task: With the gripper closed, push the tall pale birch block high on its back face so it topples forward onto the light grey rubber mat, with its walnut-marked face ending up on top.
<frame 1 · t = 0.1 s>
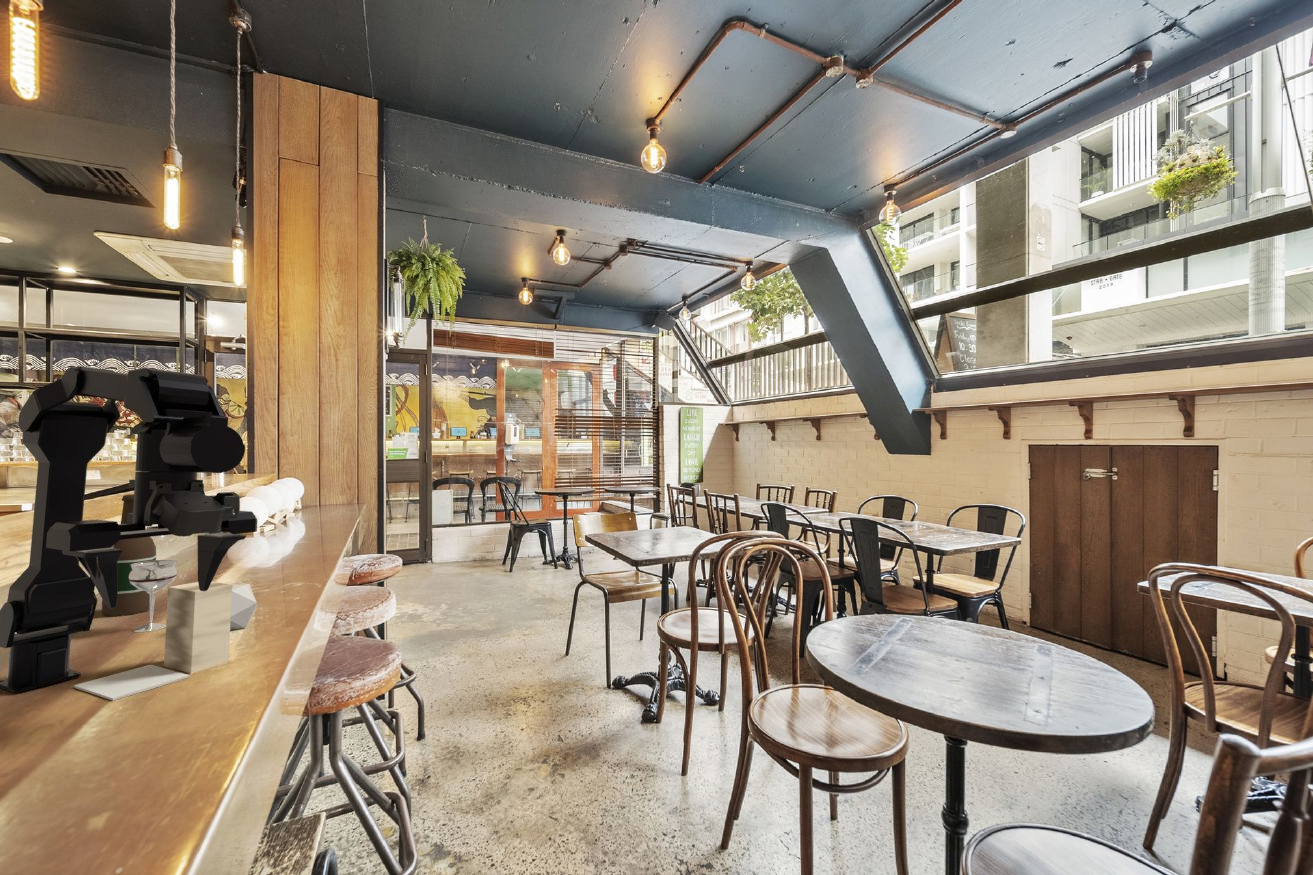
hand: (160, 598, 67), 15 cm above the counter, tool pointing down, fingers open, 9 cm apart
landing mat: (132, 682, 77), on the counter
beer bottle: (128, 612, 111), on the counter
birch block: (196, 664, 84), on the counter
wineglass: (150, 628, 101), on the counter
die: (229, 629, 102), on the counter
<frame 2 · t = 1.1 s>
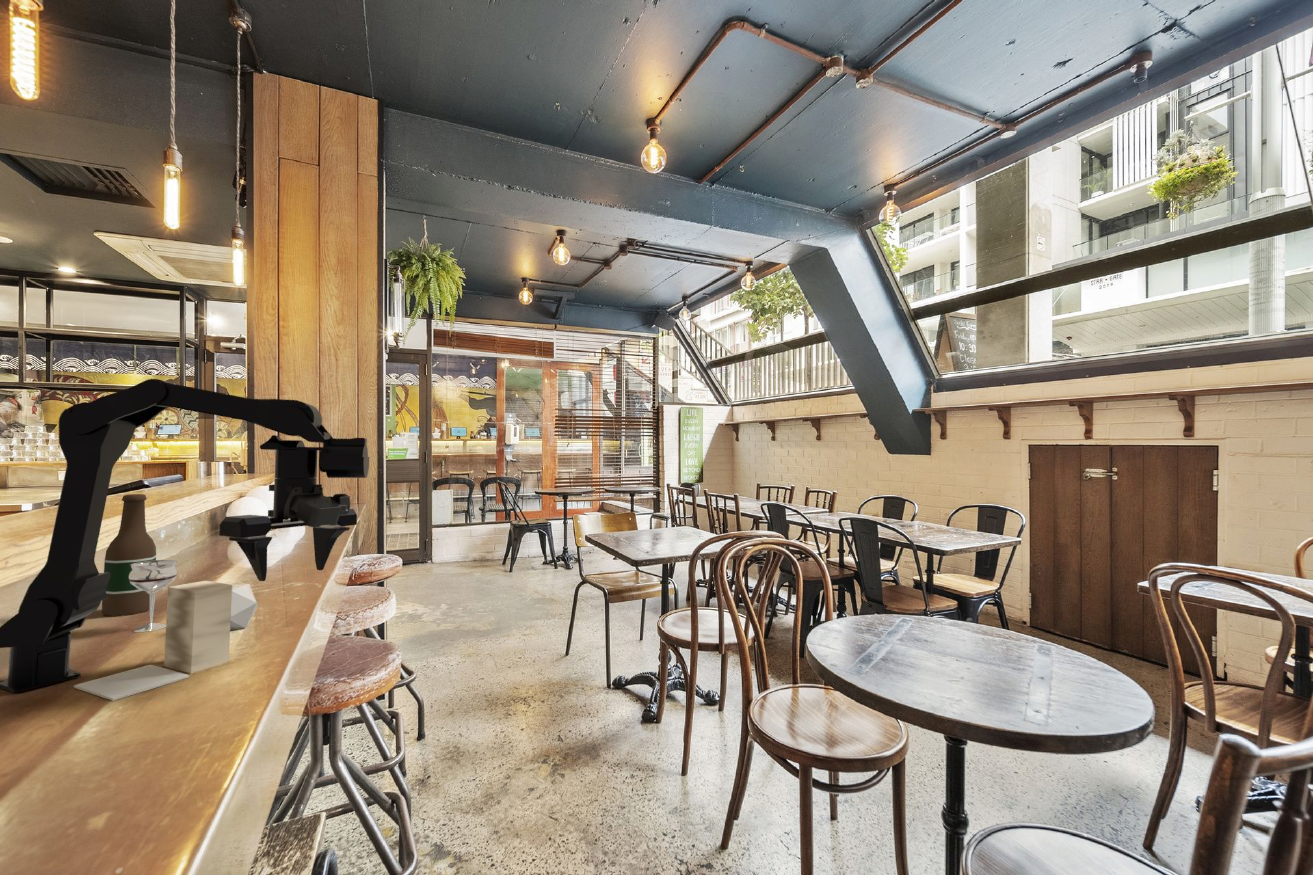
hand: (292, 575, 87), 13 cm above the counter, tool pointing down, fingers open, 9 cm apart
nothing on the counter moved.
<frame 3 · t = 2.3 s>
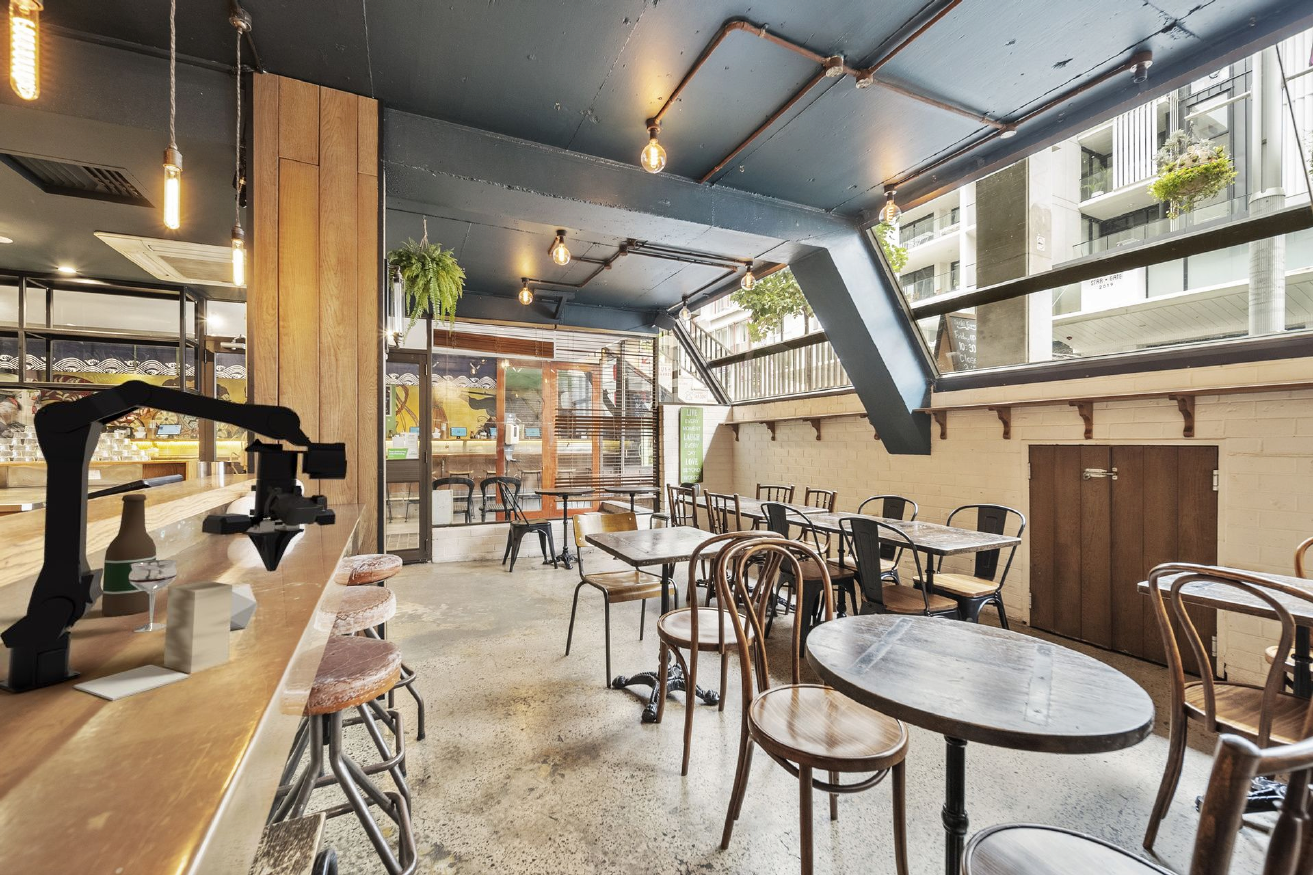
hand: (271, 570, 93), 13 cm above the counter, tool pointing down, fingers closed
nothing on the counter moved.
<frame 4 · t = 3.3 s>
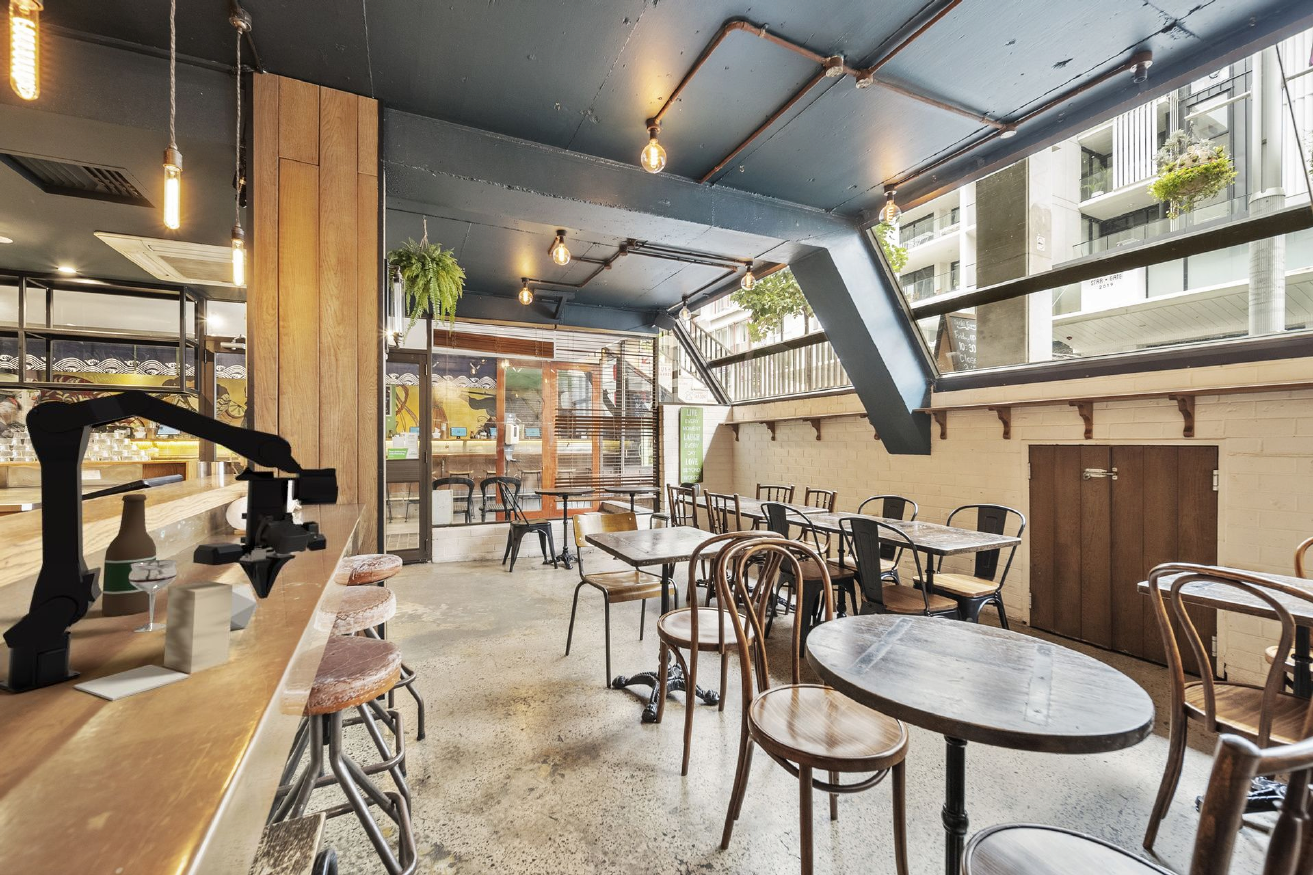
hand: (263, 598, 93), 8 cm above the counter, tool pointing down, fingers closed
nothing on the counter moved.
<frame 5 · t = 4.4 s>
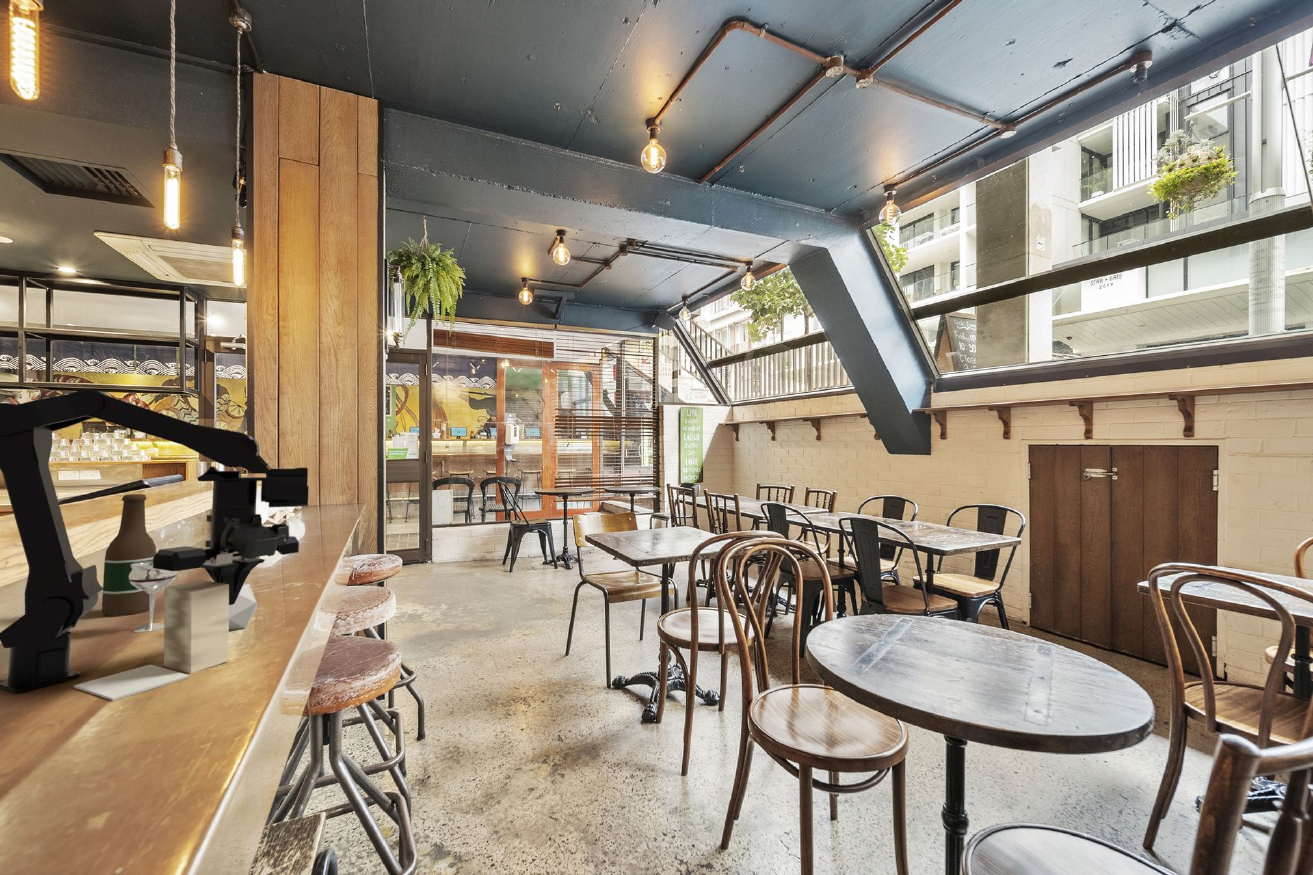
hand: (230, 604, 89), 8 cm above the counter, tool pointing down, fingers closed
birch block: (196, 663, 84), on the counter, touching gripper
everything else where it was.
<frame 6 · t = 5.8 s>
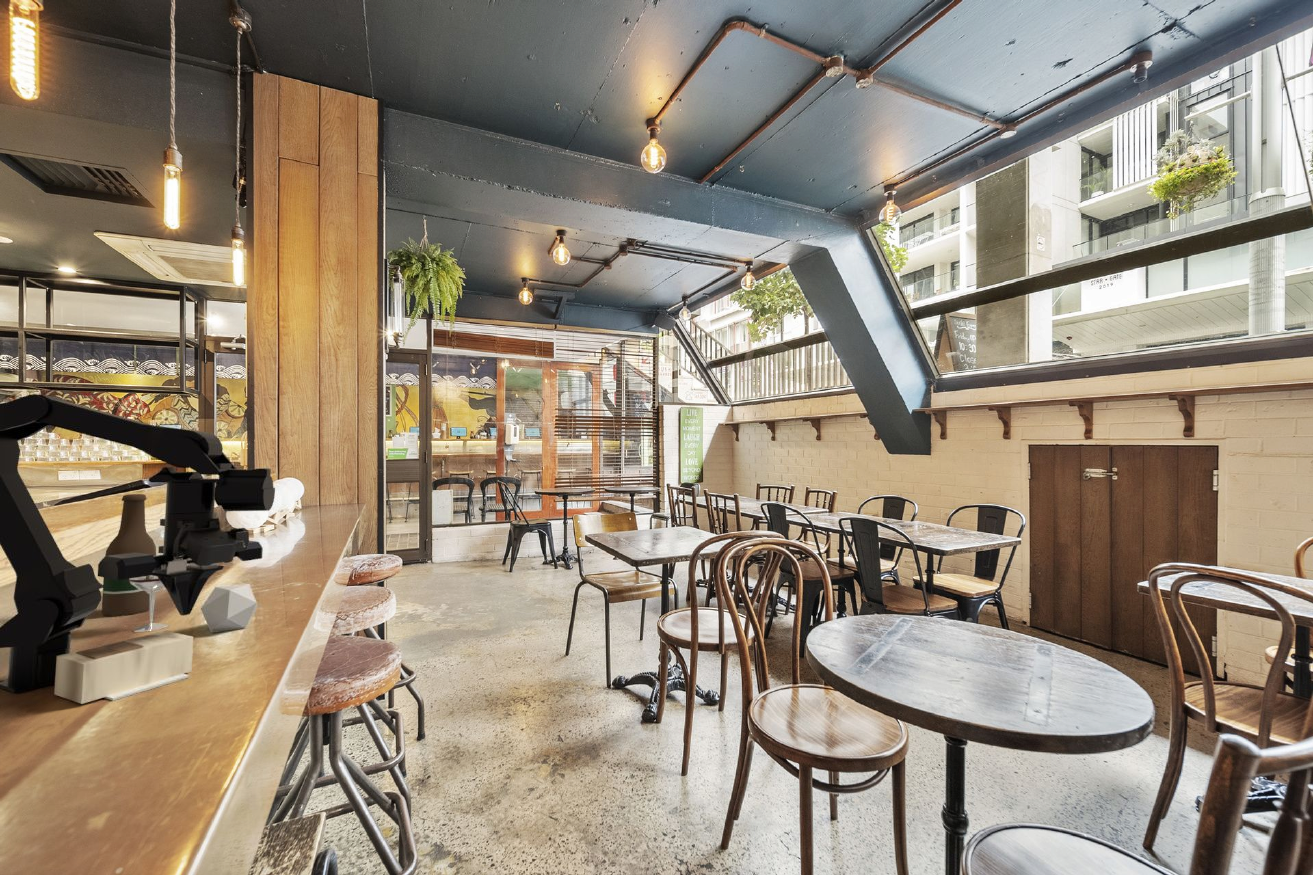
hand: (184, 614, 83), 8 cm above the counter, tool pointing down, fingers closed
birch block: (178, 650, 82), point 3 cm above the counter, tilted 90°, touching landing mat
everything else where it was.
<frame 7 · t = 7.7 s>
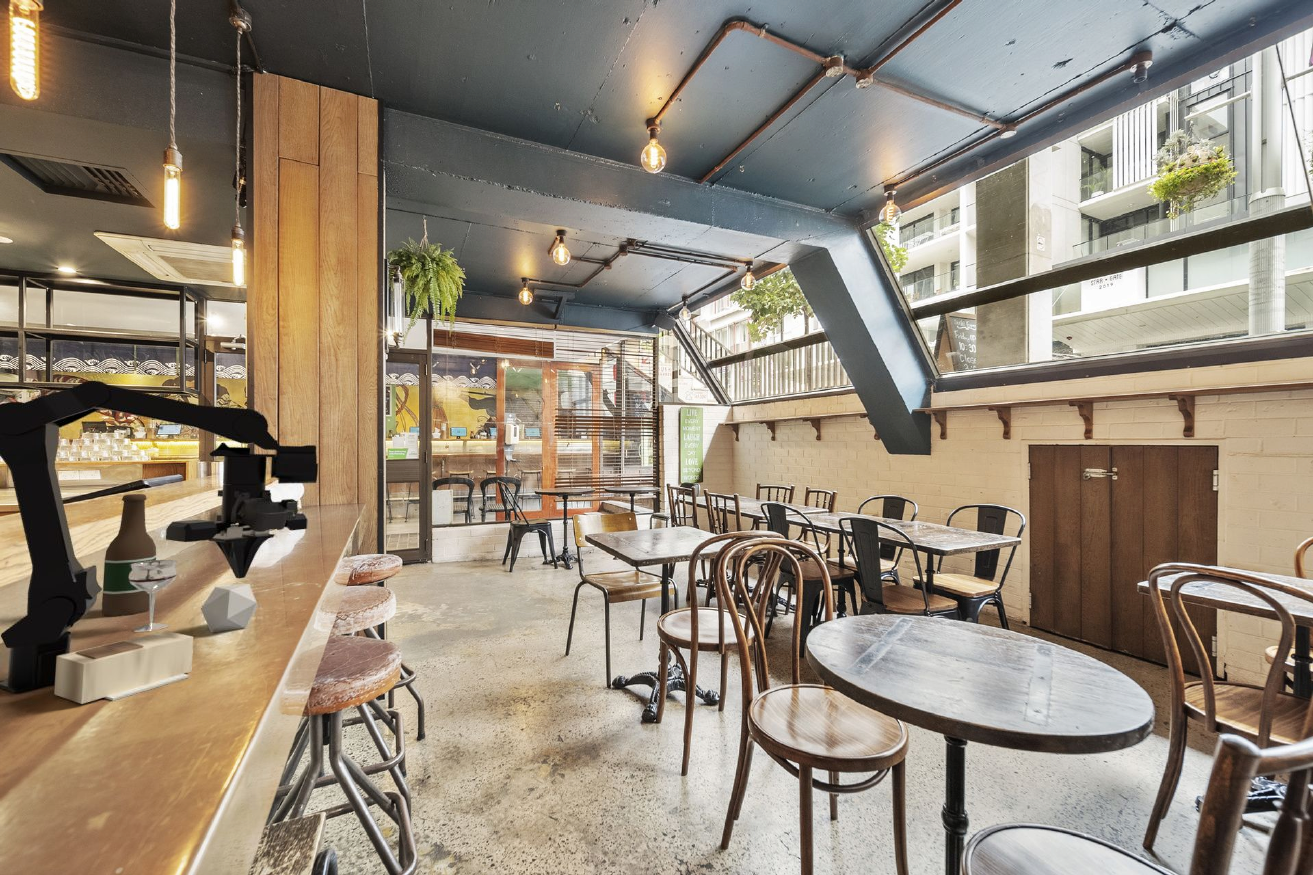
hand: (240, 577, 90), 12 cm above the counter, tool pointing down, fingers closed
nothing on the counter moved.
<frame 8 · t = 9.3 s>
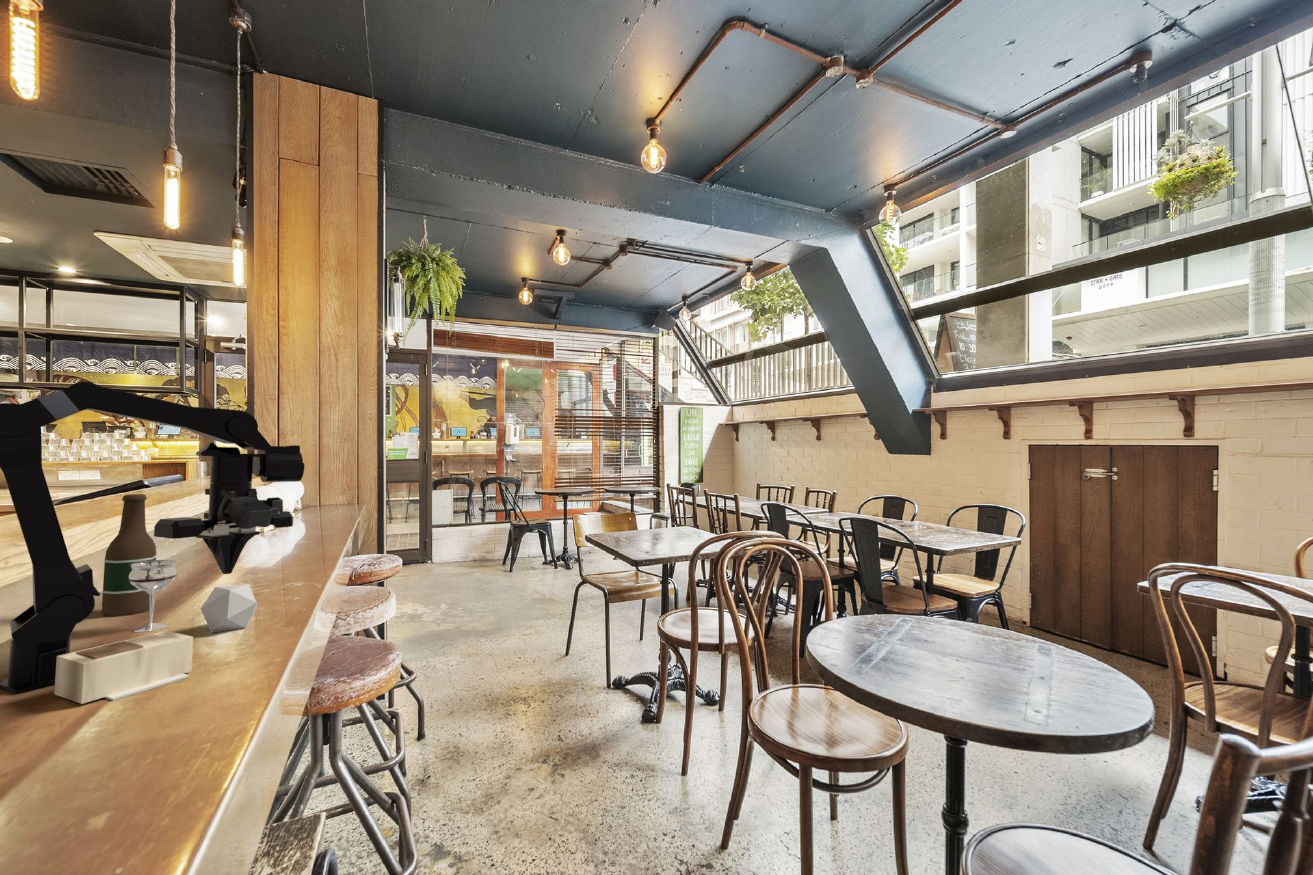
hand: (227, 573, 93), 12 cm above the counter, tool pointing down, fingers closed
nothing on the counter moved.
at the end: birch block tilted 90°; birch block inside the target area (3.0 cm from its centre), point 2.8 cm above the counter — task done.
